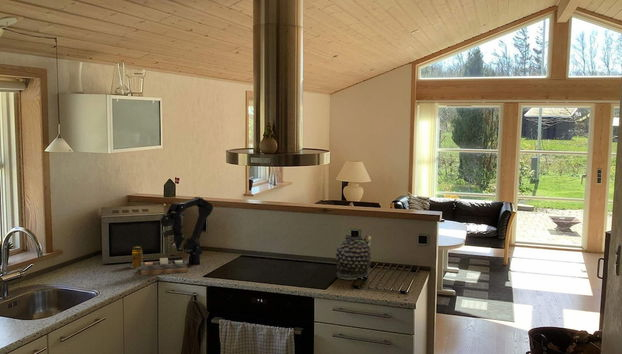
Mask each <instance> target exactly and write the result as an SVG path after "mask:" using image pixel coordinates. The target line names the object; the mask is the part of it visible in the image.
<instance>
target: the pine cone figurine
mask: <svg viewBox="0 0 622 354" xmlns="http://www.w3.org/2000/svg"><path fill="white" fill-rule="evenodd" d="M371 241H372V237H371V236H370V235H366V236H364V239H363V238H362V236H360V235H358V236H353V234H352V236H351V235H348V234H345V238H344V239H343V240H342V242H341V243H340V244H339V245H338V247H337V249H336V253H335V260H336V268H337V269H338V271H337V272H336V276H337V278H338V279H343V280H358V279H357V278H361V279H364V278H363V277H366V278H368V277H369V272H368V271H369V268H370V264H371V261H370V260H371V256H372V255H371V248H370V247H371V244H372V243H371ZM367 276H368V277H367Z"/></svg>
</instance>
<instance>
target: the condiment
mask: <svg viewBox="0 0 622 354" xmlns="http://www.w3.org/2000/svg"><path fill="white" fill-rule="evenodd" d="M143 256H144V255H143V248H142V246H139V245H138V246H133V247H132V252H131V261H132V262H131V264H132V265H131V266H130V268H132V269H141V263H144V260H143V259H144V257H143Z"/></svg>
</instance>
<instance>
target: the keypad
mask: <svg viewBox="0 0 622 354" xmlns="http://www.w3.org/2000/svg"><path fill="white" fill-rule="evenodd" d="M181 260H182V261H183V263H178V264H175V261H176V260H168V264H162V265H160V261H152V262H153V265H147V266H145V262H143V263H141V268H140V274H141V276H150V275H152V276H153V275H162V274H163V275H166V274H177V273H178V274H179V273H180V272H181V273H188V272H189V270H188V269H189V268H188V262H187V260H186V259H181Z"/></svg>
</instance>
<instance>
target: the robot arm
mask: <svg viewBox="0 0 622 354" xmlns="http://www.w3.org/2000/svg"><path fill="white" fill-rule="evenodd" d="M194 206H196V207H197V212H198V217H197V220H196V222H195V225H194V229H193V232H192V233H191V236H190V237H189V238H186V241H185V236H184V235H183V216H185V214H184V212H185V211H186V210H187V209H189V208H192V207H194ZM213 208H214V206H213V204H212V203H211V202H209V201H208V200H205V199H204V198H203V197H202V196H195V197H193V198H190V199H188V200H184V201H180V202H171V204H170V206H169V208H168V210H167V212H166V214H163V215H162V217H161V219H160V225H161V226H162V227H163V228H165V227H169V226H170V227H169V228H168V229H165V230H162V232H161V233H162V235H163V237H164V239H165V238H168V237H170V236H171V240H172V241H173V242H174V246H175V249H176V251H179V249H180V247H181V245H182V242H184V241H185V242H184V249H185V251H186V254H188V255H187V264H189V265H190V266H193V265H201V255H202V254H203V249H202V248H201V246H200V245H201V242H200V241H201V240H200V238H201V235H202V232H203V228H204V226H205V223H206V220H207V218H208V217H209V216H210V215H211V214H212V213H213Z"/></svg>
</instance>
